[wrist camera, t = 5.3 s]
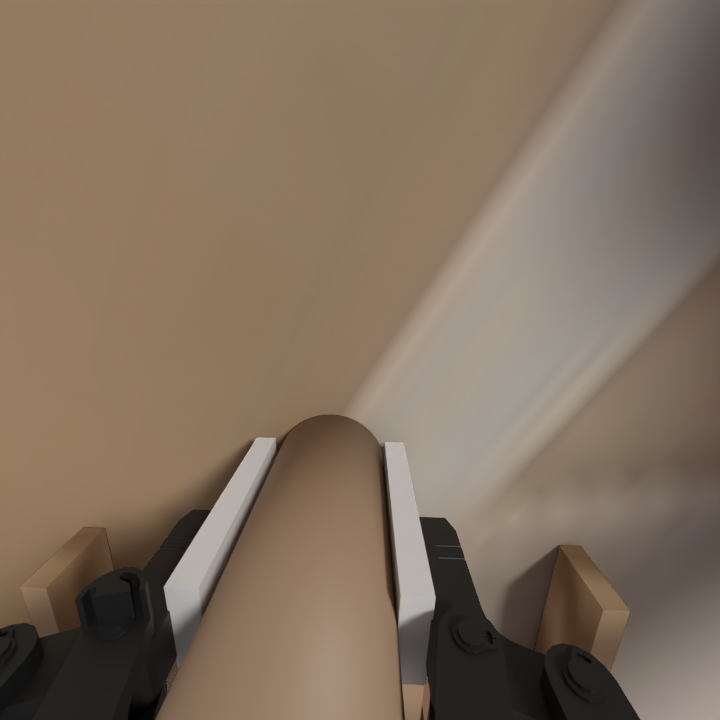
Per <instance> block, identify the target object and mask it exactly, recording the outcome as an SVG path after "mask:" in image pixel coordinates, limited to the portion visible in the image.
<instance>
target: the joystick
mask: <svg viewBox="0 0 720 720" xmlns="http://www.w3.org/2000/svg"><path fill="white" fill-rule="evenodd" d="M155 720H405V712H404V700H403V689H402V677H401V665H400V654H399V642H398V630H397V619H396V607H395V595H394V584H393V572H392V560H391V549H390V537H389V525H388V514H387V502H386V490H385V479H384V467H383V457H382V451H381V448H380V446H379V443H378V441H377V440H376V438H375V437H374V435H373V434H372V433H371V432H370V431H369V430H368V429H367V428H366V427H365V426H363V425H362V424H360V423H359V422H357V421H355V420H353V419H350V418H347V417H343V416H339V415H321V416H316V417H312V418H309V419H307V420H305V421H303V422H301V423H299V424H298V425H297V426H295V427H294V428H293V429H292V430H291V431H290V432H289V434H288V435H287V436H286V438H285V440H284V442H283V444H282V446H281V448H280V450H279V452H278V454H277V457H276V459H275V461H274V463H273V465H272V467H271V470H270V472H269V474H268V476H267V478H266V480H265V483H264V485H263V487H262V489H261V491H260V493H259V496H258V498H257V500H256V502H255V504H254V507H253V509H252V511H251V513H250V515H249V517H248V520H247V522H246V524H245V526H244V528H243V530H242V533H241V535H240V537H239V539H238V541H237V543H236V546H235V548H234V550H233V552H232V554H231V556H230V559H229V561H228V563H227V565H226V567H225V569H224V572H223V574H222V576H221V578H220V580H219V582H218V585H217V587H216V589H215V591H214V593H213V595H212V598H211V600H210V602H209V604H208V606H207V608H206V611H205V613H204V615H203V617H202V619H201V621H200V624H199V626H198V628H197V630H196V632H195V634H194V637H193V639H192V641H191V643H190V645H189V647H188V650H187V652H186V654H185V656H184V658H183V660H182V663H181V665H180V667H179V669H178V671H177V673H176V676H175V678H174V680H173V682H172V684H171V686H170V689H169V691H168V693H167V695H166V697H165V699H164V702H163V704H162V706H161V708H160V710H159V712H158V715H157V717H156V719H155Z"/></svg>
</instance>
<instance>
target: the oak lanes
mask: <svg viewBox="0 0 720 720" xmlns="http://www.w3.org/2000/svg"><path fill="white" fill-rule="evenodd" d="M110 571H114V568H113V564H112V559H111V554H110V550H109V545H108V541H107V536H106V531H105V528H82V529H81V530H80V531H79V532H78V533H77V534H76V535H75V536H74V537H73V538H72V539H71V540H70V541H69V542H67V543H66V544H65V545H64V546H63V547H62V548H61V549H60V550H59V551H58V552H57V553H56V554H55V555H54V556H53V557H51V558H50V559H49V560H48V561H47V562H46V563H45V564H44V565H43V566H42V567H41V568H40V569H39V570H38V571H36V572H35V573H34V574H33V575H32V576H31V577H30V578H29V579H28V580H27V581H26V582H25V583H24V584H23V585H22V586H20V589H21V592H22V595H23V598H24V601H25V605H26V608H27V611H28V614H29V617H30V620H31V623H32V625H33V626H35V628H36V630H37V632H38V635H39V638H41V637H45V636H48V635H52V634H56V633H60V632H64V631H68V630H71V629H75V628H78V627H81V622H80V619H79V615H78V611H77V607H76V604H75V599H76V597H77V596H78V595H79V594H80V593H81V591H82V590H83V589H84V588H85V587H86V586H88V585H89V584H90V583H92V582H93V581H94V580H95V579H97V578H99V577H101V576H103V575H105V574H107V573H108V572H110ZM629 614H630V610H629V608H628V607H627V606H626V605H625V603H624V602H623V601H622V599H621V598H620V597H619V595H618V594H617V593H616V591H615V590H614V589H613V587H612V586H611V585H610V583H609V582H608V581H607V580H606V578H605V577H604V576H603V574H602V573H601V572H600V570H599V569H598V568H597V566H596V565H595V564H594V562H593V561H592V560H591V558H590V557H589V556H588V554H587V553H586V552H585V551H584V549H583V548H582V547H581V546H560V545H559V549H558V553H557V558H556V562H555V566H554V570H553V574H552V579H551V583H550V587H549V591H548V595H547V600H546V604H545V608H544V612H543V616H542V621H541V625H540V629H539V633H538V637H537V641H536V646H535V650H534V651H537V652H539V653H542V654H545V655H546V652H547V651H548V650H549V649H550V648H551V647H552V645H557V644H561V643H565V644H569V645H574V646H577V647H579V648H581V649H583V650H585V651H587V652H588V653H590V654H592V655H593V656H594V657H595V658H596V659H598V660H599V661H600V662H601V663H602V664H603V665H605V667H606V668H607V669H608V671H609V672H610V671H611V668H612V665H613V662H614V659H615V656H616V653H617V650H618V647H619V644H620V641H621V638H622V635H623V632H624V629H625V626H626V623H627V620H628V617H629ZM402 689H403V700H404V712H405V720H420V716H421V708H422V699H423V691H424V685H409V684H402Z"/></svg>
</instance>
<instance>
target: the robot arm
mask: <svg viewBox="0 0 720 720" xmlns="http://www.w3.org/2000/svg"><path fill="white" fill-rule="evenodd" d="M275 459H276V438H258V437H257V438H256V440H255V441H254V443H253V445H252V446H251V448H250V449H249V451H248V453H247V454H246V456H245V457H244V459H243V461H242V462H241V464H240V465H239V467H238V469H237V470H236V472H235V473H234V475H233V477H232V478H231V480H230V481H229V483H228V485H227V486H226V488H225V490H224V491H223V493H222V494H221V496H220V498H219V499H218V501H217V502H216V504H215V506H214V507H213V509H212V510H193V511H191V512H190V513H189V514H188V515H186V516H185V517H184V518H182V519H181V520H180V521H179V522H178V523H177V524H176V526H175V527H174V529H173V530H172V531H171V533H170V534H169V537H168V538H166V540H165V541H164V542H163V544H162V545H161V547H160V550H158V551H157V552H156V553H155V555H154V556H153V558H152V559H151V560H150V562H149V563H148V564H147V566H146V567H145V569H144V570H143V571H141V570H139V569H137V568H121V569H117V570H114V571H110V572H108V573H107V574H105V575H103V576H101V577H99V578H97V579H95V580H94V581H93V582H92V583H90V584H89V585H88V586H86V587H85V588H84V589H83V590H82V591H81V593H80V594H79V595H78V596H77V597H76V599H75V604H76V607H77V611H78V615H79V619H80V622H81V627H78V628H75V629H71V630H68V631H64V632H60V633H56V634H52V635H48V636H45V637H41V638H39V635H38V632H37V630H36V628H35V626H33V625H30V624H27V623H22V624H14V625H10V626H7V627H5V628H2V629H0V720H155V719H156V717H157V715H158V712H159V710H160V708H161V706H162V704H163V702H164V699H165V697H166V694H167V684H166V678H167V676H168V674H169V672H170V670H171V668H172V666H173V664H174V662H175V659H176V663H177V669H179V667H180V665H181V663H182V660H183V658H184V656H185V654H186V652H187V650H188V647H189V645H190V643H191V641H192V639H193V637H194V634H195V632H196V630H197V628H198V626H199V624H200V621H201V619H202V617H203V615H204V613H205V611H206V608H207V606H208V604H209V602H210V600H211V598H212V595H213V593H214V591H215V589H216V587H217V585H218V582H219V580H220V578H221V576H222V574H223V572H224V569H225V567H226V565H227V563H228V561H229V559H230V556H231V554H232V552H233V550H234V548H235V546H236V543H237V541H238V539H239V537H240V535H241V533H242V530H243V528H244V526H245V524H246V522H247V520H248V517H249V515H250V513H251V511H252V509H253V507H254V504H255V502H256V500H257V498H258V496H259V493H260V491H261V489H262V487H263V485H264V483H265V480H266V478H267V476H268V474H269V472H270V470H271V467H272V465H273V463H274V461H275ZM383 467H384V479H385V490H386V502H387V514H388V525H389V537H390V549H391V560H392V572H393V584H394V595H395V607H396V619H397V630H398V642H399V654H400V665H401V677H402V684H409V685H425V683H426V675H427V676H428V683H429V690H430V702H429V710H428V717H427V720H640V719H639V717H638V715H637V714H636V712H635V710H634V709H633V707H632V705H631V704H630V702H629V701H628V699H627V697H626V696H625V694H624V692H623V691H622V689H621V687H620V686H619V684H618V683H617V681H616V680H615V678H614V677H613V676H612V674H611V673H610V672H609V671H608V669H607V668H606V667H605V665H603V664H602V663H601V662H600V661H599V660H598V659H596V658H595V657H594V656H593V655H592V654H590V653H588V652H587V651H585V650H583V649H581V648H579V647H577V646H574V645H569V644H565V643H561V644H557V645H552V647H551V648H550V649H549V650H548V651H547V652H546V655H545V654H542V653H539V652H537V651H534V650H531V649H529V648H526V647H523V646H521V645H518V644H516V643H514V642H512V641H510V640H508V639H507V638H505V637H504V636H503V635H501V634H500V633H499V632H498V631H497V630H496V629H495V628H494V626H493V625H492V623H491V622H490V621H489V620H488V619H487V618H486V617H485V615H484V613H483V611H482V608H481V605H480V602H479V599H478V596H477V593H476V590H475V587H474V584H473V581H472V578H471V575H470V572H469V569H468V566H467V563H466V561H465V559H464V554H463V551H462V548H461V547H460V542H459V539H458V536H457V533H456V531H455V529H454V528H453V527H452V526H451V525H450V523H449V522H448V521H447V520H446V519H445V518H431V517H419V515H418V510H417V505H416V500H415V495H414V491H413V486H412V481H411V476H410V471H409V466H408V462H407V457H406V452H405V447H404V443H399V442H385V447H384V464H383Z"/></svg>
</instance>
